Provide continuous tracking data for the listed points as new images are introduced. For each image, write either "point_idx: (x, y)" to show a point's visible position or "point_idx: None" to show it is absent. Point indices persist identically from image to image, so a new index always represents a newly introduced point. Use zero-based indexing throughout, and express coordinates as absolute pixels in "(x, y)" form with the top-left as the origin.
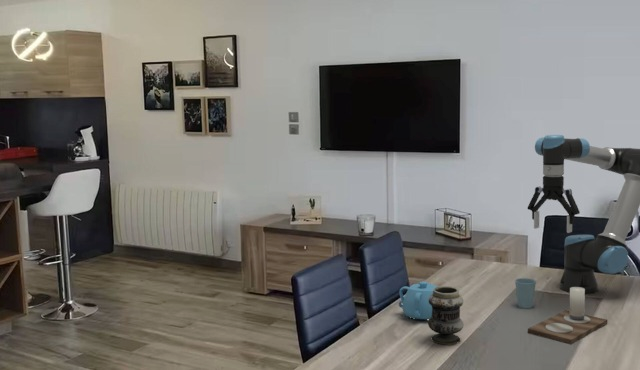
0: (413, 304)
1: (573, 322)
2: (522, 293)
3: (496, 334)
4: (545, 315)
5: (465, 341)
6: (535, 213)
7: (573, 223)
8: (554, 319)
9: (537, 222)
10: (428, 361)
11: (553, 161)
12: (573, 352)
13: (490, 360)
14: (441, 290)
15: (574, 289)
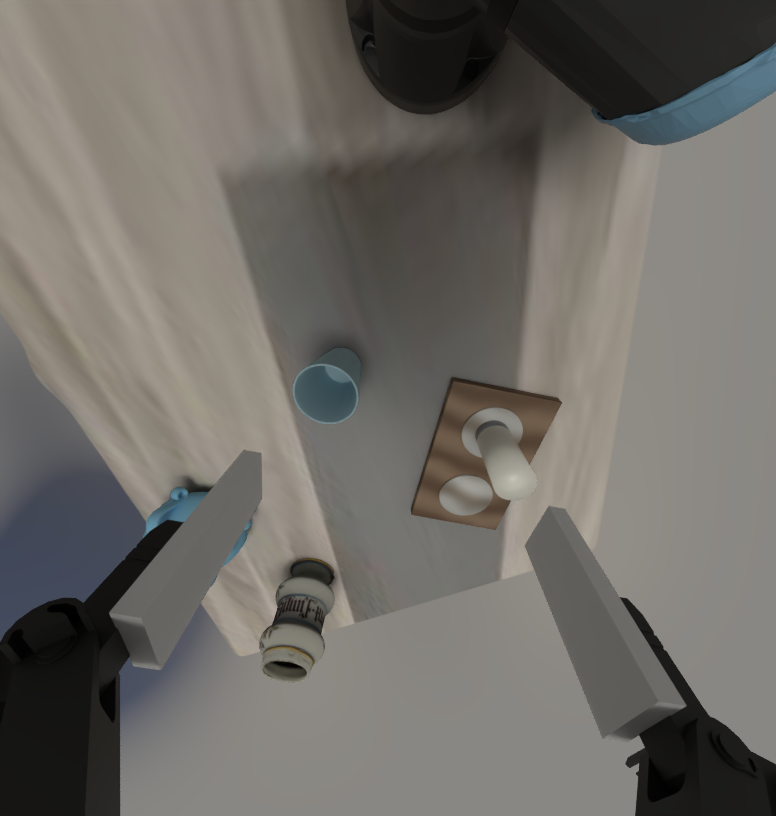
0: None
1: None
2: (336, 404)
3: (367, 532)
4: (410, 407)
5: (340, 568)
6: (168, 647)
7: (625, 606)
8: (444, 452)
9: (237, 516)
10: (337, 622)
11: None
12: (501, 547)
13: (401, 600)
14: (268, 653)
15: (507, 492)
